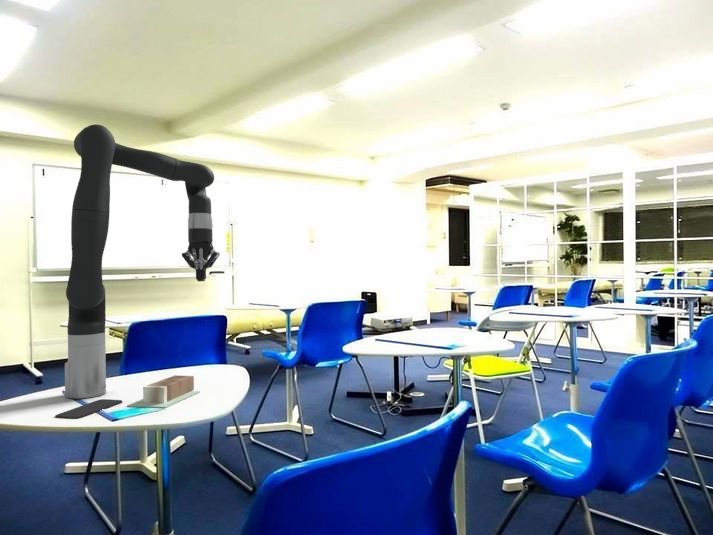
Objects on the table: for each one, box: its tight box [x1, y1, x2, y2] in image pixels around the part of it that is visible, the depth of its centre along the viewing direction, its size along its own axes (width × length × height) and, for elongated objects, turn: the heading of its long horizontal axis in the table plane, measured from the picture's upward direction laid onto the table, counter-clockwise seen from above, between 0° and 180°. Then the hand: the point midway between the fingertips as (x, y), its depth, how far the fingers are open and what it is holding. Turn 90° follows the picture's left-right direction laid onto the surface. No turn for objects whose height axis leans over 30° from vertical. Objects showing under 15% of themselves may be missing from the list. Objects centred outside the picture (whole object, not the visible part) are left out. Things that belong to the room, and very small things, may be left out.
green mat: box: [126, 390, 201, 409], centre depth 129 cm, size 11×16×1 cm
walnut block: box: [142, 374, 195, 403], centre depth 131 cm, size 6×4×14 cm
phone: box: [54, 398, 123, 420], centre depth 120 cm, size 7×1×15 cm
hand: (201, 281), depth 157 cm, fingers closed
